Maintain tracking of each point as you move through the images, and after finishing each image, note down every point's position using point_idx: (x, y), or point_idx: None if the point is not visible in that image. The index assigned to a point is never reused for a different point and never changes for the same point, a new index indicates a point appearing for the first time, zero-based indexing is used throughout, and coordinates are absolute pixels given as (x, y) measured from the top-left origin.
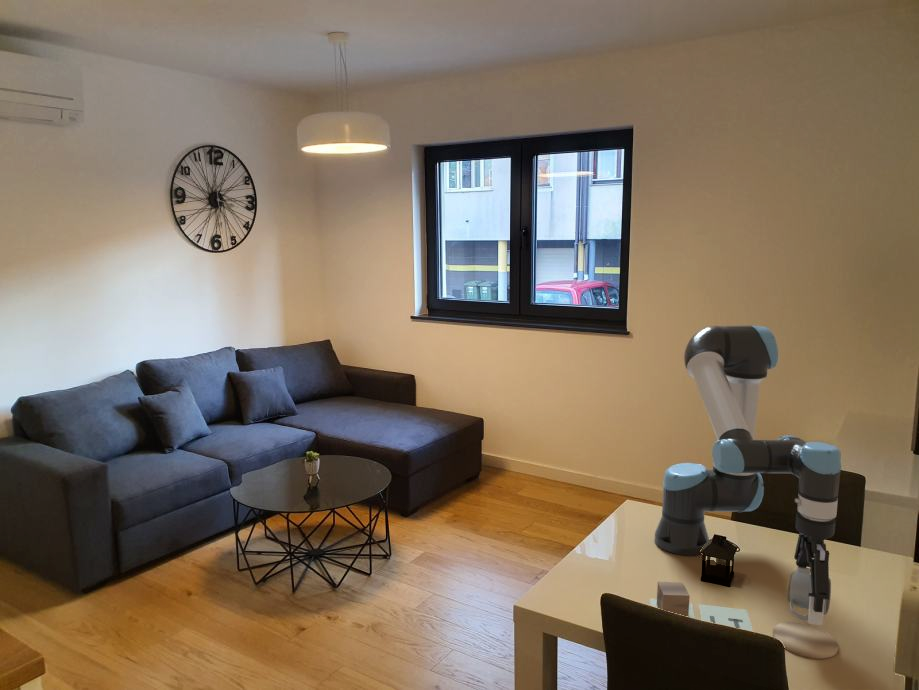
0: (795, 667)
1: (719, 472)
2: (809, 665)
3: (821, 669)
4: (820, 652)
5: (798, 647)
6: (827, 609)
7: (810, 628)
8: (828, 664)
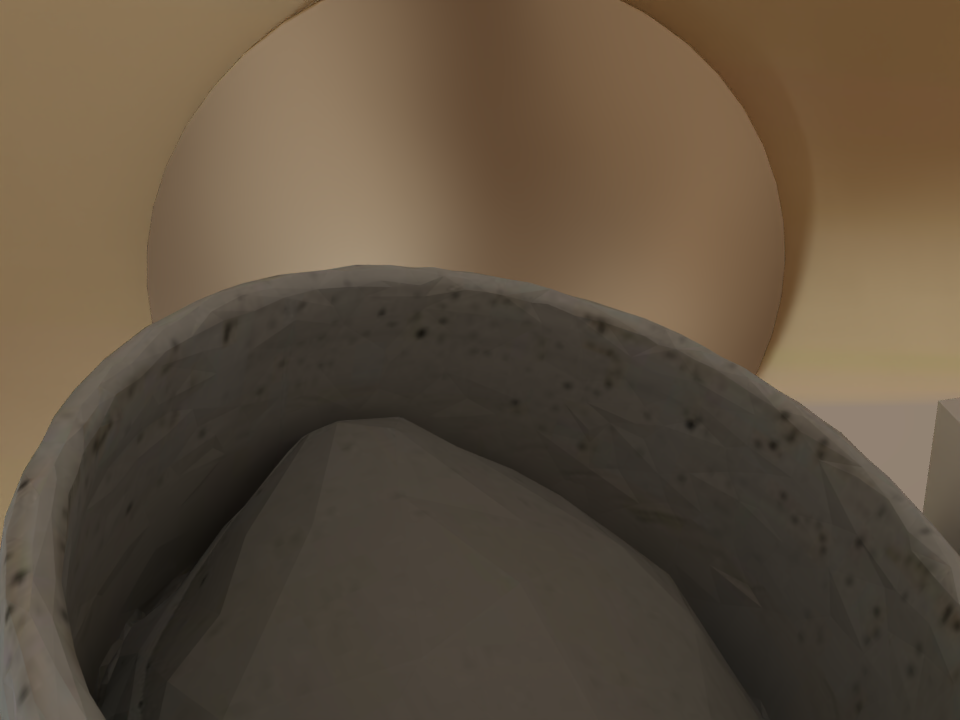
0: (939, 384)
1: None
2: (891, 278)
3: (941, 180)
4: (700, 181)
5: None
6: (448, 291)
7: (235, 247)
8: (844, 106)
